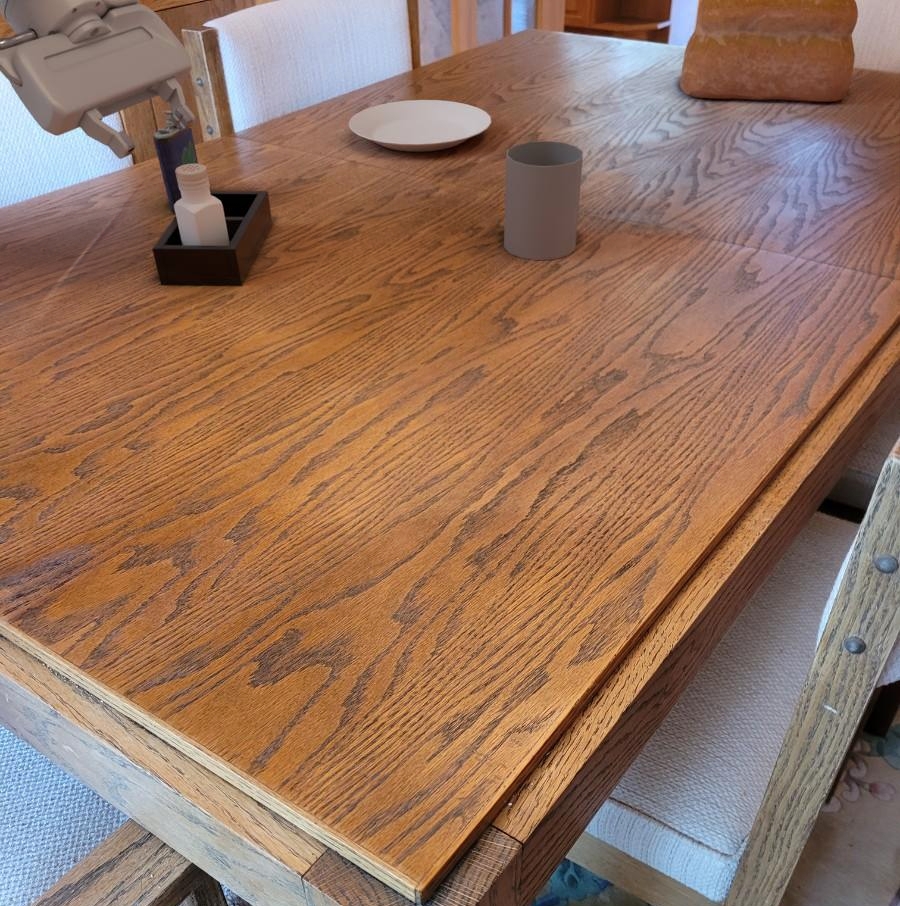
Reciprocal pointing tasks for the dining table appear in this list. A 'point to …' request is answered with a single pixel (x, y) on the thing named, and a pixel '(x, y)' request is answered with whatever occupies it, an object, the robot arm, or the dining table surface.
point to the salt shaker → (199, 209)
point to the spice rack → (217, 263)
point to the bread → (771, 50)
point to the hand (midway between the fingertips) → (159, 139)
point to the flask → (173, 155)
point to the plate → (420, 124)
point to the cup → (542, 199)
